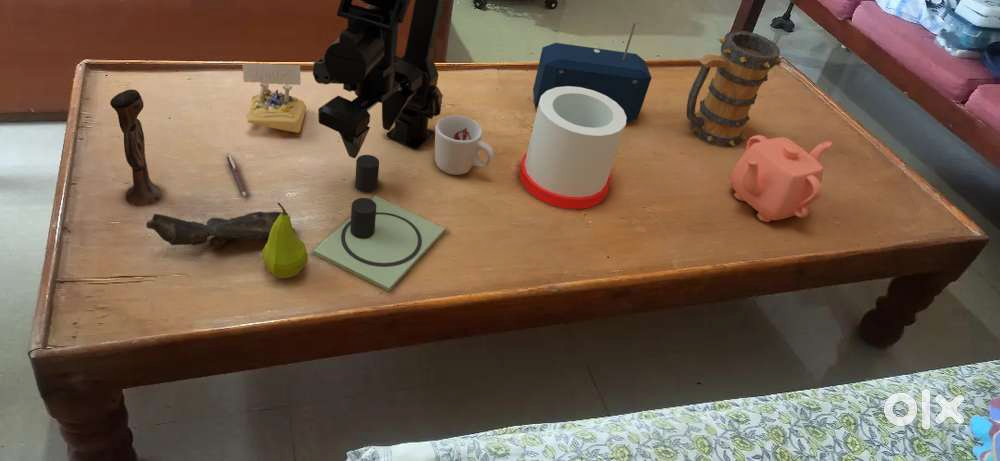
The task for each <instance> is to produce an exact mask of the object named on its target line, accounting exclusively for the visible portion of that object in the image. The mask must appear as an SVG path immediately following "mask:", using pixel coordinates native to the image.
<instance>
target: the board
mask: <svg viewBox="0 0 1000 461" xmlns="http://www.w3.org/2000/svg"><path fill="white" fill-rule="evenodd" d="M370 199H371V200H373V201H374V202H375V203H376V206H377V207H376V219H375V231H374V234H373V236H371V237H370V238H366V239H360V238H356V237H354V236H353V235H352V234H351V232H350V225H351V216H350V217H349V218H348V219H347V220H346V221H344V222H343V223H342V224H341V225H340V226H339V227H338V228H336V229H335V230H334V231H333V232H332V233H331V234H330V235H328V236H327V238H325V239H324V240H323V241H322V242H321V243H320V244H318V245H317V246H316V247H315V248H314V249H313V250H312V251H313V252H312V254H313V255H314V256H316V257H318V258H320V259H322V260H324V261H326V262H328V263H330V264H333V265H334V266H336V267H338V268H340V269H342V270H344V271H346V272H348V273H350V274H351V275H354V276H356V277H358V278H360V279H362V280H364V281H366V282H368V283H370V284H372V285H374V286H376V287H378V288H379V289H382V290H384V291H386V292H389V293H390V292H391V290H392V289H393V288H395V286H396V285H397V284H398V283H399V282H400V281H401V280H402V279H403V277H404V276H406V275H407V273H408V272H409V271H410V270H411V269H412V268H413V267H414V266H415V265H416V263H417V262H418V261H419V260H420V259H421V258H422V257H423V256H424V255H425V254H426V253H427V252H428V251H429V250H430V249H431V248H432V246H433V245H434V244H435V243H436V242H437V241H438V240H439V239H440V238H441V237H442V236H443V234H445V232H446V228H445V227H444V226H441V225H440V224H437V223H435V222H432V221H431V220H428V219H426V218H424V217H423V216H420V215H417V214H416V213H413V212H411V211H410V210H407V209H405V208H403V207H401V206H398V205H397V204H394V203H392V202H390V201H388V200H385V199H384V198H381V197H379V196H378V195H374V196H372V198H370Z"/></svg>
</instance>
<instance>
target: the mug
mask: <svg viewBox="0 0 1000 461" xmlns="http://www.w3.org/2000/svg"><path fill="white" fill-rule="evenodd" d="M717 41H718V42H719V43H720V44H721V45H720V55H717V54H705V55H703V56H701V57H700V58H698V61H699V63H700V65H701V67H700V69H699V72H698V74H697V76H696V77H695V79H694V80H693V81H694V82H693V83H692V86H691V88H690V91H689V93H688V98H687V103H686V118H687V120H688V121H690V125H691V126H690V128H691V131H692V133H693V134H694V135H696V136H697V137H698V138H699V139H701V140H702V141H704V142H706V143H709V144H711V145H715V146H719V147H735V146H736V145H738V144H739V143H740V142H741V140H747V139H748V138H747V137H746V136H745V135H744V133H745V131H744V128H745V125H746V124H747V123H748V122H750V120H751V118H750V117H749V112H750V110H751V108H752V105H754V104H755V103H756V99H757V98H758V97H757V96H758V91H759V89H760V87H761V85H762V84H763V83H764V82H767V81H769V78H768V77H769V75H768V73H769V72H770V70H772V69H773V68H774V67H775V65H776V63H782V62H784V61H783V60H782V59H781V58H780V55H781V51H780V48H779V46H778V45H777V44H776V43H775V42H773V41H772V40H770V39H769V38H767V37H765V36H763V35H760V34H758V33H754V32H750V31H747V30H733V31H729V32H727V33H725V35H724V38H718V39H717ZM711 68H716V71H715V74H714V76H713V77H712V78H711V80H710V82H709V85H708V86H707V88H708V91H707V93H706V96H705V98H703V99H701V100H700V101H699V109H698V111H697V112H696V106H697V101H698V96H699V94H700V92H701V89H702V88H703V85H704V83H705V82H706V80H707V78H708V75H709V73H710V70H711Z"/></svg>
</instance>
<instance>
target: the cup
mask: <svg viewBox="0 0 1000 461" xmlns="http://www.w3.org/2000/svg"><path fill="white" fill-rule="evenodd" d="M434 128H435V129H434V162H435V164H436V166H437V168H438V169H439V170H441V171H442V172H443V173H445V174H449V175H453V176H460V175H464V174H466V173H468V172H470V170H471V169H472V168H473V166H474V167H476V168H479V169H486V168H488V167H489V166H490V165H491V164H492V162H493V160H494V155H495V154H494V149H493V147H492V146H490V144H488V143H487V142H485V141H483V139H482V138H483V128H482V126H481V125H480V124H479V123H478V122H477V121H475V120H474V119H472V118H470V117H467V116H463V115H457V114H456V115H454V114H452V115H446V116H443V117H441V118H440V119H438V120H437V121H436V122H435V127H434ZM480 151H484V152H485V153H486V155H487V159H486V161H483V160H481V159H480V157H479V153H480Z"/></svg>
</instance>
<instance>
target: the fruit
mask: <svg viewBox="0 0 1000 461" xmlns="http://www.w3.org/2000/svg"><path fill="white" fill-rule="evenodd" d="M277 205H278V206H279V207H280V208H281V210H282V212H283V213H281V214H280V215H279V216H278V218H277V220H276V221H275V222H274V224H273V226H272V228H271V231H270V234H269V237H267V242H266V243H265V245H264V247H263V249H262V251H261V259H262V261H263V265H264V268H265V270H267V271H268V272H270V273H271V274H272V275H273V276H274V277H275V278H280V279H290V278H291V277H293V276H296V275H297V274H299V273H300V272H301V270H302V269H303V268H304V267H305V266H306V264H307V262H308V261H309V260H308V259H309V255H308V250H307V247H306V244H305V242H304V241H303V240H301V239H300V238H299V237H298V236H297V234H296V231H295V232H294V230H293V228H294V227H293V225H292V222H291V217H290V216H288V215H289V213H288V212H287V211H286V209H285V208H284V206H283V205H282V204H281V203H280V202H277ZM287 213H288V214H287ZM289 217H290V218H289Z"/></svg>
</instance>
